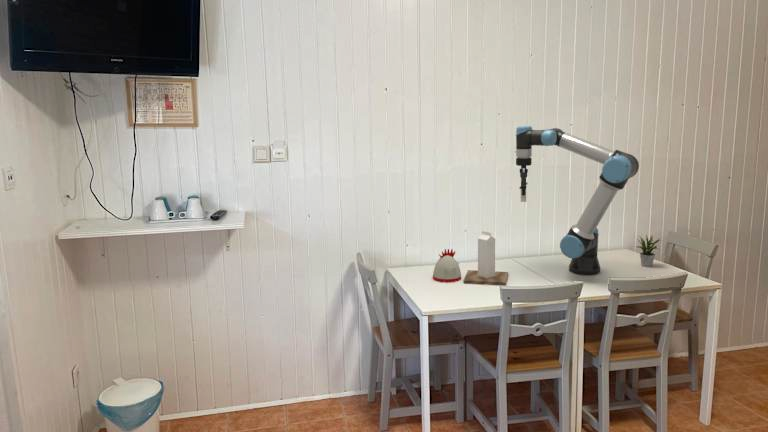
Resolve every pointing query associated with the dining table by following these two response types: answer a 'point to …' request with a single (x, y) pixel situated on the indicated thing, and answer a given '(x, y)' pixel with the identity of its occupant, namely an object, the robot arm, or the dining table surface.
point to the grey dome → (447, 268)
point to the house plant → (647, 252)
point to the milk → (486, 255)
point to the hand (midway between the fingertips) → (523, 199)
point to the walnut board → (473, 278)
